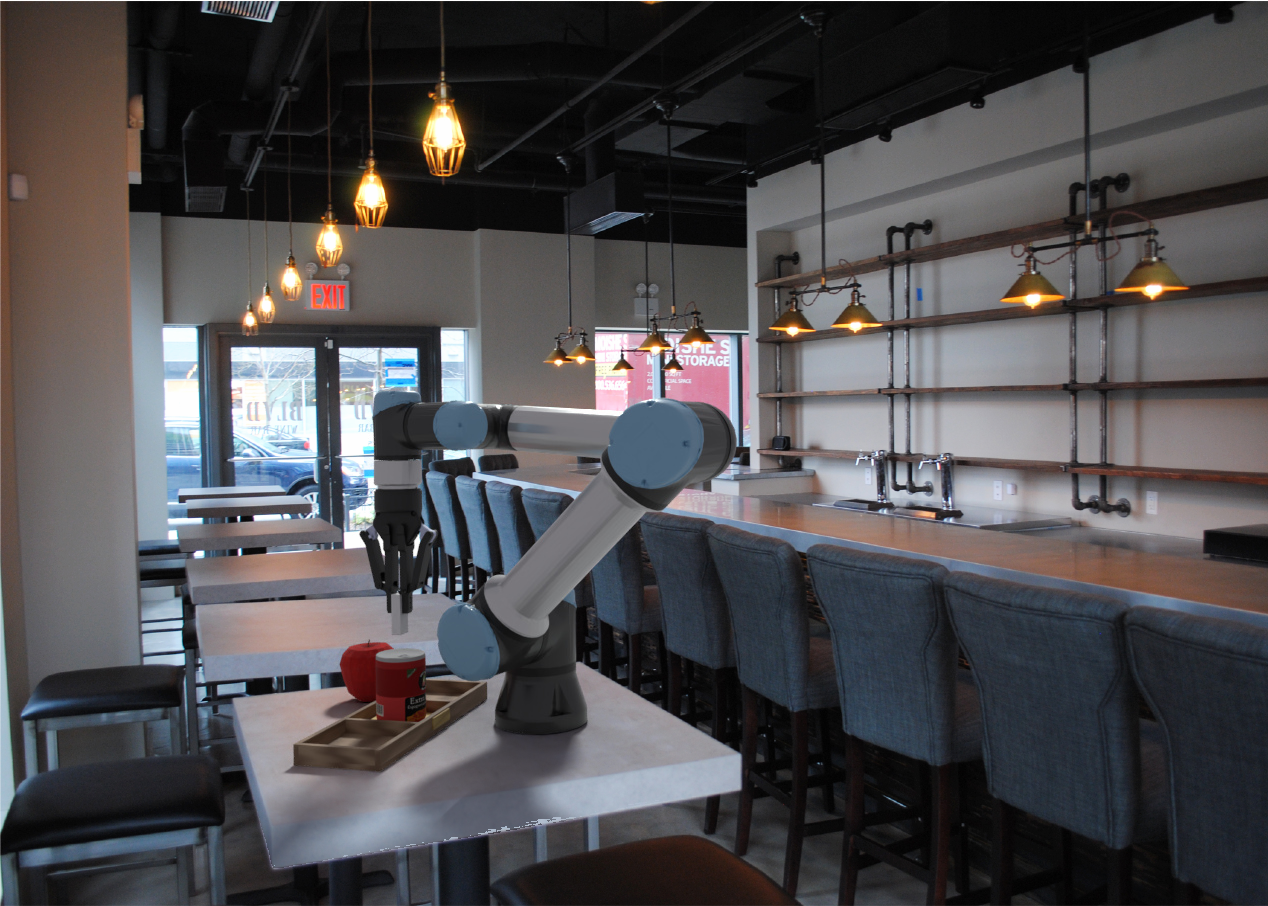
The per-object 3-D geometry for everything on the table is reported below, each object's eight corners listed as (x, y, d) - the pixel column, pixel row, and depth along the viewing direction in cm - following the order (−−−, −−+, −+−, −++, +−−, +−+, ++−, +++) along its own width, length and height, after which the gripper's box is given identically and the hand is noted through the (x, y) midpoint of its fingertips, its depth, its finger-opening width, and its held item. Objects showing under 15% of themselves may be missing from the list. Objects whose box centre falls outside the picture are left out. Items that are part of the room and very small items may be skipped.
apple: (388, 689, 179) (388, 631, 179) (404, 701, 171) (403, 640, 171) (334, 697, 174) (334, 637, 174) (348, 709, 166) (347, 646, 166)
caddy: (488, 698, 172) (488, 681, 172) (382, 771, 134) (381, 750, 134) (417, 694, 175) (417, 678, 175) (293, 765, 137) (293, 744, 137)
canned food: (414, 729, 150) (413, 659, 150) (367, 726, 151) (366, 657, 151) (434, 715, 157) (433, 649, 157) (389, 713, 159) (388, 647, 159)
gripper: (445, 486, 156) (447, 630, 156) (372, 486, 159) (374, 627, 159) (425, 488, 149) (427, 639, 149) (349, 488, 152) (351, 636, 152)
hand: (400, 633), depth 154 cm, fingers closed
